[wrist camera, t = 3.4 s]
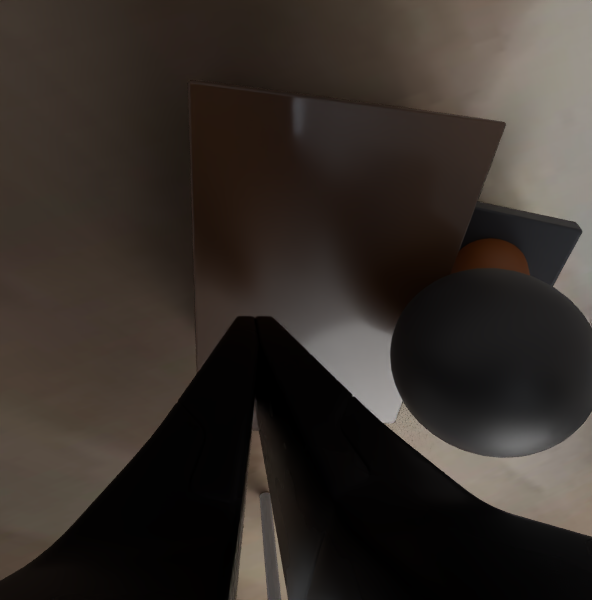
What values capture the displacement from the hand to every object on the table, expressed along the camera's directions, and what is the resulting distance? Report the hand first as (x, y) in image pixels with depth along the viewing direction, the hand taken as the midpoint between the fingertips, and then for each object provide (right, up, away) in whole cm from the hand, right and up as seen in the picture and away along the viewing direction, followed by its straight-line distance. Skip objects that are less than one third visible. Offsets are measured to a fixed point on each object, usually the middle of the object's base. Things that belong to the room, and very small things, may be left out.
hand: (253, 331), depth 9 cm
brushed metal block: (+1, +3, +6) cm, 6 cm away
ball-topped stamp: (+6, +3, +7) cm, 10 cm away
